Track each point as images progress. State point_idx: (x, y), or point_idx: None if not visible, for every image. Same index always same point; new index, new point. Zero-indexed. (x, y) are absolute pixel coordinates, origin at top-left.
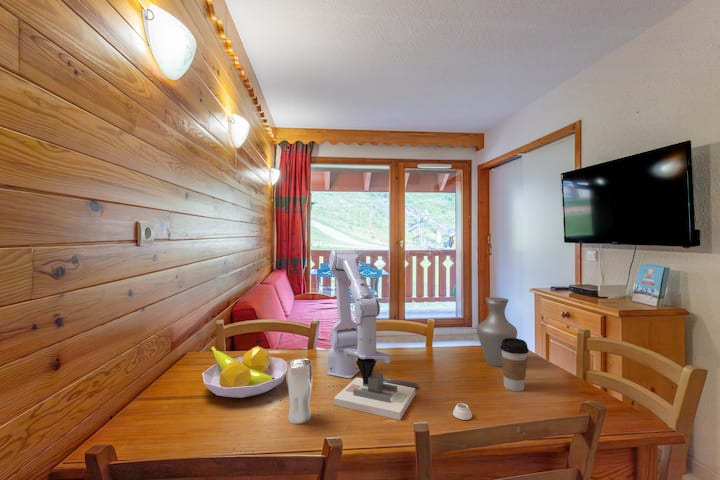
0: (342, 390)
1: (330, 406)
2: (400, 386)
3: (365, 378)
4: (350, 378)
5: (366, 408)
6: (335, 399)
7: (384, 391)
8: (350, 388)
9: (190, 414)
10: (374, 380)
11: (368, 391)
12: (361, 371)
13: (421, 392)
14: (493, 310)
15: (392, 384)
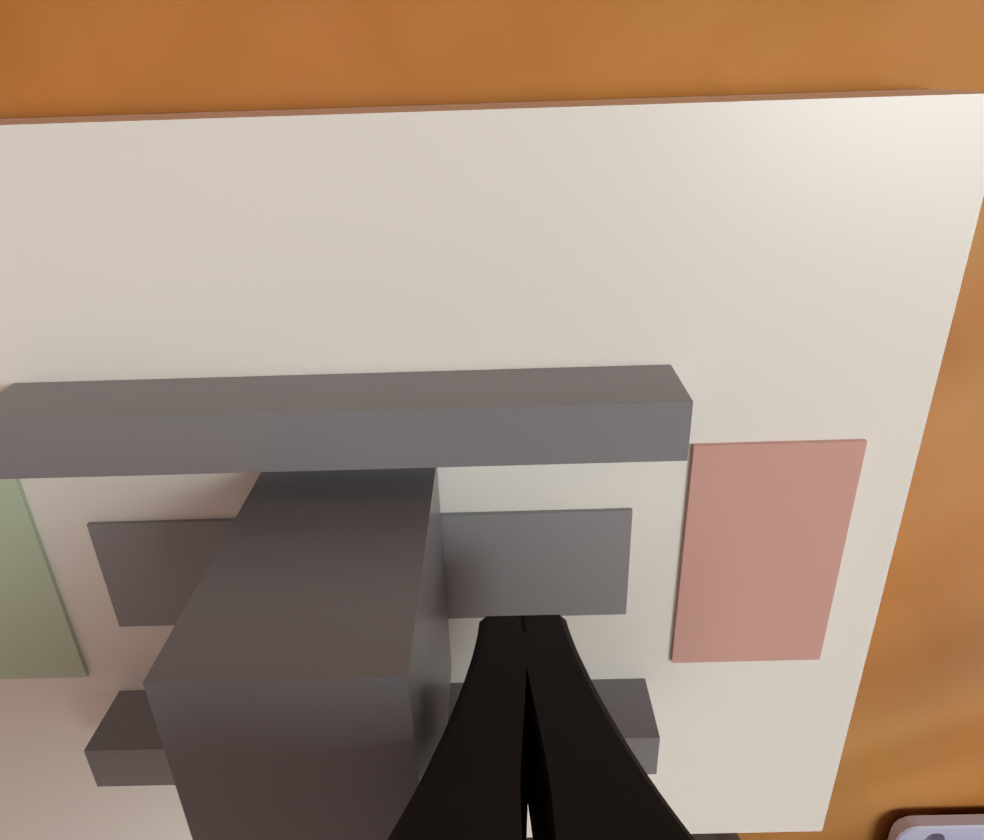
0: (914, 435)
1: (974, 16)
2: (166, 825)
3: (516, 687)
4: (900, 818)
5: (299, 113)
6: (955, 92)
7: None
8: (799, 535)
9: None
10: (240, 655)
11: (424, 492)
12: (638, 814)
13: None
14: None
15: None
